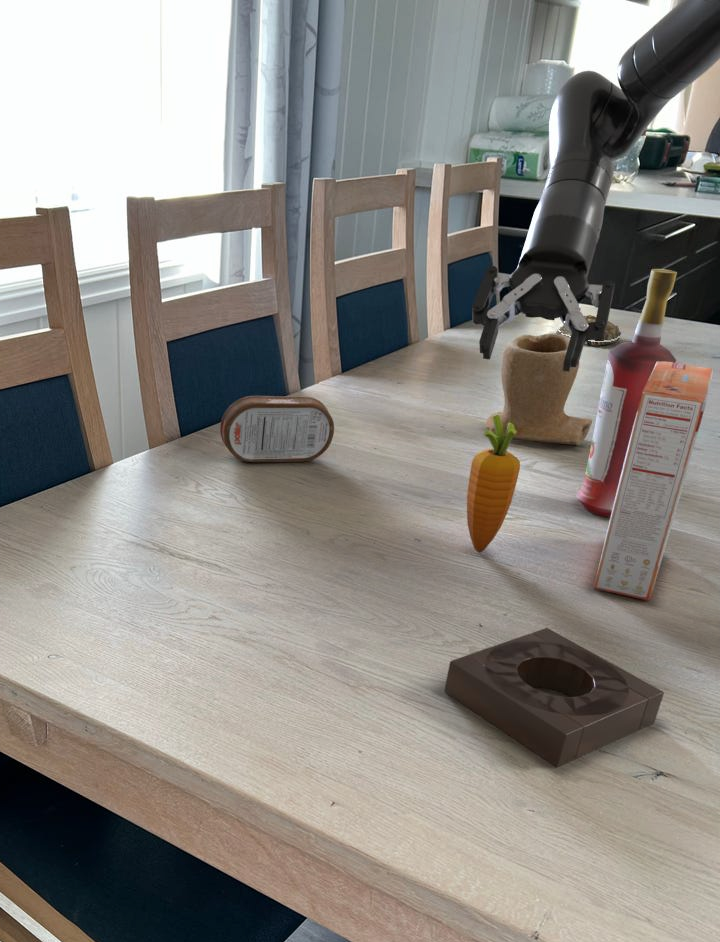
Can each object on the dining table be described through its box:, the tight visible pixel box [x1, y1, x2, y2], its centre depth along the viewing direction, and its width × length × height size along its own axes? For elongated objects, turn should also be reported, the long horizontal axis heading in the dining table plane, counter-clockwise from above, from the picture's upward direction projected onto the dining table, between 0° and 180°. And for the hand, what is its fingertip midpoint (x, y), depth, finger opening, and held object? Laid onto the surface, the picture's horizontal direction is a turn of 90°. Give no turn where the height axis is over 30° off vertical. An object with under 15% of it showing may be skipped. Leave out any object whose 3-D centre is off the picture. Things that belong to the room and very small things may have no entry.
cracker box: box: [593, 361, 714, 601], centre depth 100 cm, size 14×6×21 cm, turn 154°
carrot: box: [466, 415, 521, 554], centre depth 103 cm, size 5×5×15 cm
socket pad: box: [444, 627, 665, 768], centre depth 79 cm, size 12×12×3 cm
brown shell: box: [555, 314, 622, 347], centre depth 208 cm, size 13×12×5 cm
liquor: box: [576, 268, 678, 517], centre depth 114 cm, size 7×7×28 cm
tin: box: [219, 395, 335, 463], centre depth 127 cm, size 15×3×8 cm, turn 102°
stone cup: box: [484, 333, 593, 446], centre depth 140 cm, size 15×12×15 cm
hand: (526, 361), depth 104 cm, fingers open, 8 cm apart
